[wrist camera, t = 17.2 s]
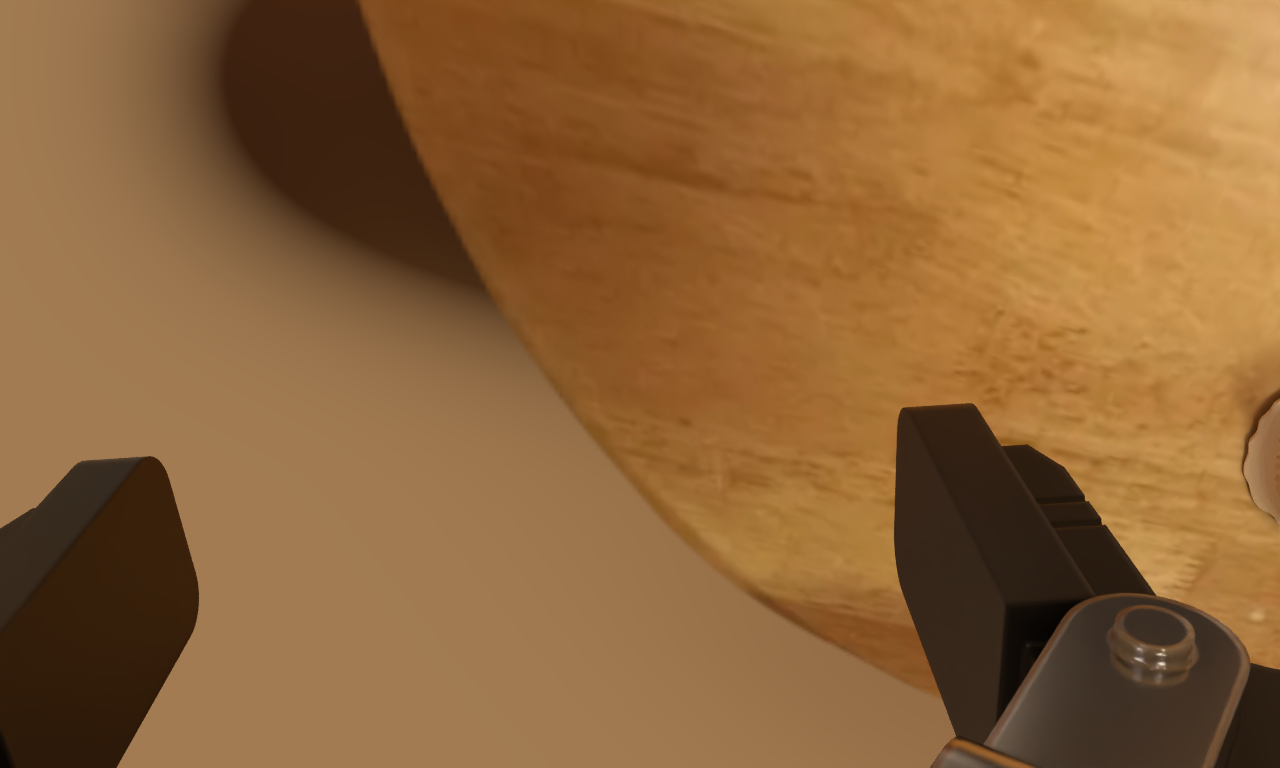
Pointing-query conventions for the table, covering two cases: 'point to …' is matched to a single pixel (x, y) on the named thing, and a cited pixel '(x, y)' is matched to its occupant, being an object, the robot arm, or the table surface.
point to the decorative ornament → (1265, 463)
